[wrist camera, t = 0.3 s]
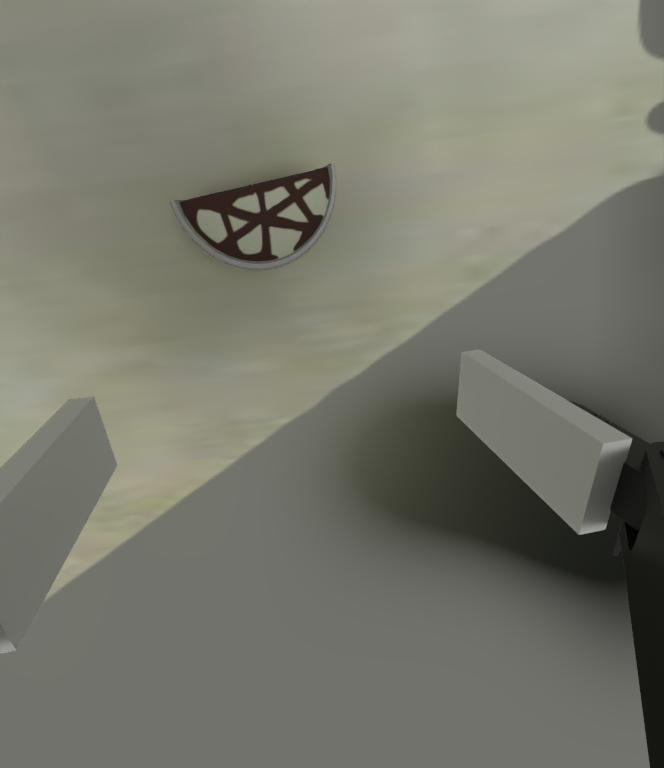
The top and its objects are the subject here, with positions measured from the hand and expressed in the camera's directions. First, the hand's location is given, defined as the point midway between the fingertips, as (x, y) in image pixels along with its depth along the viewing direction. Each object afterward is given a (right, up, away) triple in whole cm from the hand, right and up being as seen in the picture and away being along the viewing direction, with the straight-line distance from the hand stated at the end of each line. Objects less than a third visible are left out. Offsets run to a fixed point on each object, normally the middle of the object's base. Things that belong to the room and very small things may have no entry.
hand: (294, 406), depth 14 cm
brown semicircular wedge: (-5, +16, +23) cm, 28 cm away
